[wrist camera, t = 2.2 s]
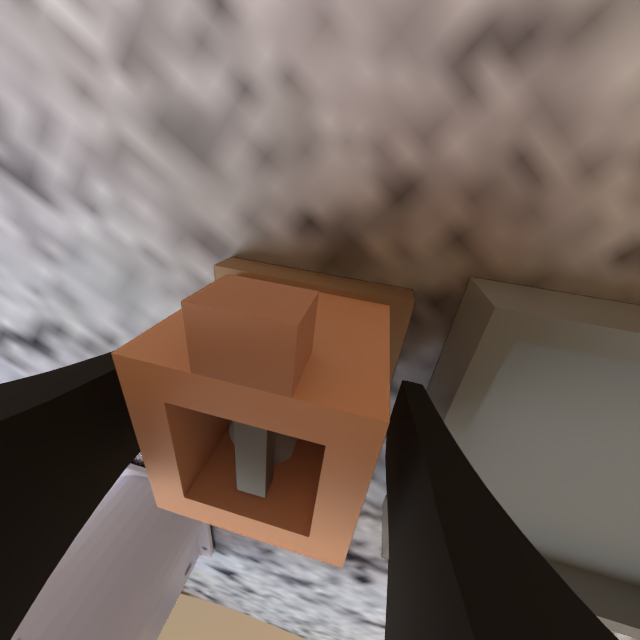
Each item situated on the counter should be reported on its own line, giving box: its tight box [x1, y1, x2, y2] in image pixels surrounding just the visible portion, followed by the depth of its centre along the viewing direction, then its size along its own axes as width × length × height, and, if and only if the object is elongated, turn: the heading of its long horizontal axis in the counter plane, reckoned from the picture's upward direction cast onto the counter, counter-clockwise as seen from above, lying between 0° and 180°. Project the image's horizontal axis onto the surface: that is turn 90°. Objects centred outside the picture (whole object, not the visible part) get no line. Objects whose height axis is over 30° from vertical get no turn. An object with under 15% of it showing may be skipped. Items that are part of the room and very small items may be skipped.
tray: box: [382, 277, 640, 640], centre depth 10 cm, size 14×14×2 cm
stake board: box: [214, 257, 415, 498], centre depth 10 cm, size 10×7×6 cm
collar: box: [111, 274, 390, 568], centre depth 8 cm, size 7×6×5 cm
